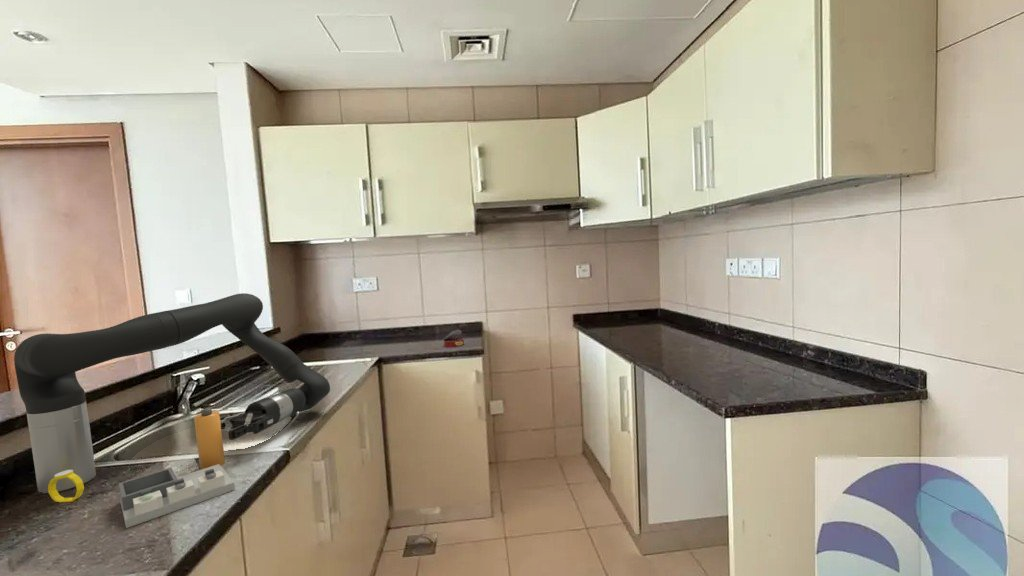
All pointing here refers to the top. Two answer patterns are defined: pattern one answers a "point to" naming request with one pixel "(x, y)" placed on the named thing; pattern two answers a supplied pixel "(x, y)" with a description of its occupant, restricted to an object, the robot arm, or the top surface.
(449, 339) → the canned food
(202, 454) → the orange thermos flask
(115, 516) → the top surface
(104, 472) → the top surface
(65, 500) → the watch
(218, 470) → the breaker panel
